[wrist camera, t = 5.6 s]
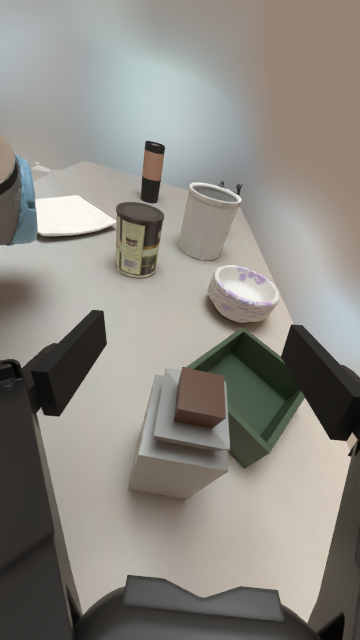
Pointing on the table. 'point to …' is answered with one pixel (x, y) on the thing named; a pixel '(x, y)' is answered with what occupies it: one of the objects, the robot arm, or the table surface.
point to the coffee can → (137, 238)
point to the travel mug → (152, 171)
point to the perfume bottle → (182, 434)
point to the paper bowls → (242, 294)
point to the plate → (69, 216)
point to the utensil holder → (207, 220)
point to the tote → (252, 393)
